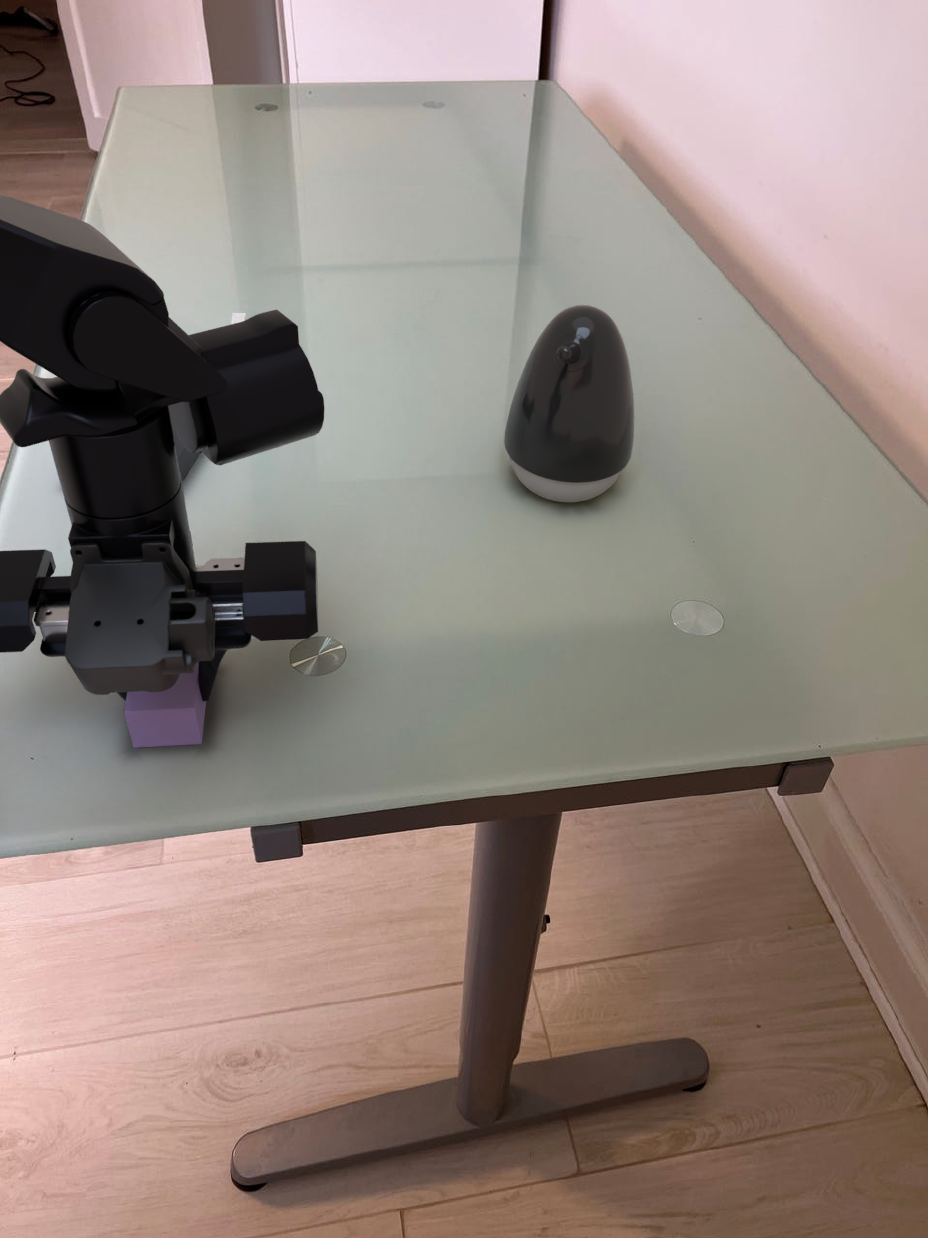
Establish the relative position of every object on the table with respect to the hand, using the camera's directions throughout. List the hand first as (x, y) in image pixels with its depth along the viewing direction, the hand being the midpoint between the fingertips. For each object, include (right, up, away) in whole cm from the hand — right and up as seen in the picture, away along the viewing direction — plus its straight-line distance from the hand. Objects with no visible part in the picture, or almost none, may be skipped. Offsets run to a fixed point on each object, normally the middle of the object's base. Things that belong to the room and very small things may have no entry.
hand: (169, 698), depth 60 cm
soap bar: (0, -1, +1) cm, 1 cm away
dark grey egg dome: (+26, +16, +21) cm, 37 cm away
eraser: (-3, +29, +34) cm, 45 cm away
